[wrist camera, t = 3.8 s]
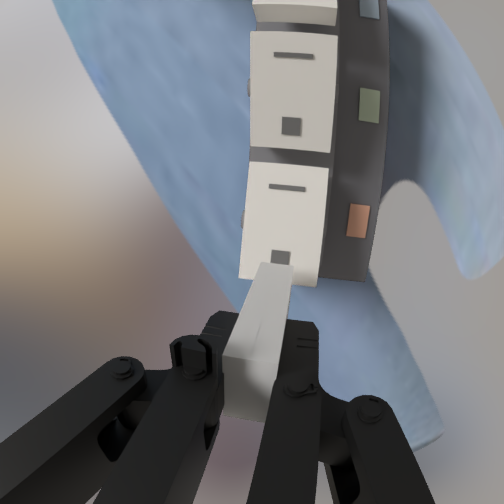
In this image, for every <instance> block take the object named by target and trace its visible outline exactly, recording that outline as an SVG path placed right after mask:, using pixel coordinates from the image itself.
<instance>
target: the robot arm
mask: <svg viewBox="0 0 504 504" xmlns="http://www.w3.org/2000/svg"><path fill="white" fill-rule="evenodd" d="M293 270H294V266H292V265H284V264H275V263H267V262H261V263H260V266H259V268H258V271H257V273H256V275H255V278H254V280H253V283H252V285H251V287H250V290H249V292H248V295H247V297H246V300H245V302H244V304H243V307H242V309H241V312H240V314H239V313H232V312H226V311H218V312H217V313H215V314H214V315H212V316H211V317H210V318H209V320H208V322H207V323H206V326H205V327H204V329H203V331H202V334H200V335H187V336H182V337H179V338H177V339H175V340H174V341H173V342H172V343H171V344H170V352H171V359H172V366H173V367H172V368H171V369H168V370H144V367H143V365H142V363H141V362H140V361H139V360H137V359H135V358H132V357H124V356H123V357H122V356H121V357H117V358H113V359H112V360H110V361H108V362H106V363H105V364H104V365H102V366H101V367H100V368H98V369H97V370H96V371H95V372H93V373H92V374H91V375H89V376H88V377H87V378H86V379H84V380H83V381H82V382H80V383H79V384H78V385H76V386H75V387H74V388H72V389H71V390H70V391H68V392H67V393H66V394H64V395H63V396H62V397H61V398H59V399H58V400H57V401H55V402H54V403H53V404H51V405H50V406H49V407H47V408H46V409H45V410H43V411H42V412H41V413H40V414H38V415H37V416H36V417H34V418H33V419H32V420H30V421H29V422H28V423H27V424H25V425H24V426H22V427H21V428H20V429H19V430H17V431H16V432H15V433H13V434H12V435H11V436H9V437H8V438H7V439H5V440H4V441H3V442H2V443H0V504H85V503H86V502H87V501H88V500H89V499H90V498H91V497H92V496H93V495H94V494H95V493H96V492H98V490H100V489H101V490H100V492H99V494H98V496H97V497H96V499H95V501H94V502H93V504H193V501H194V498H195V495H196V492H197V490H198V487H199V484H200V482H201V479H202V476H203V473H204V470H205V468H206V465H207V462H208V459H209V456H210V453H211V450H212V448H213V445H214V442H215V439H216V436H217V434H218V430H219V424H220V421H219V418H220V415H221V412H222V409H223V415H224V416H229V417H235V418H240V419H245V420H251V421H257V422H264V423H265V426H264V430H263V435H262V440H261V444H260V449H259V453H258V457H257V462H256V466H255V470H254V474H253V479H252V483H251V487H250V491H249V495H248V499H247V503H246V504H315V496H316V485H317V473H318V461H320V462H323V463H324V466H325V470H326V475H327V479H328V483H329V487H330V491H331V495H332V499H333V504H435V502H434V500H433V497H432V495H431V493H430V490H429V488H428V485H427V483H426V481H425V479H424V476H423V474H422V472H421V470H420V467H419V465H418V463H417V461H416V459H415V456H414V454H413V452H412V450H411V448H410V446H409V443H408V441H407V439H406V437H405V435H404V433H403V431H402V429H401V427H400V425H399V422H398V420H397V418H396V416H395V414H394V412H393V410H392V408H391V407H390V406H389V404H388V403H387V402H386V401H384V400H383V399H381V398H379V397H376V396H372V395H362V396H358V397H355V398H354V399H352V400H351V401H350V402H347V401H344V400H340V399H337V398H335V397H333V396H331V395H329V394H328V393H326V392H325V391H324V390H323V388H322V387H321V385H320V383H319V379H318V368H319V350H318V349H319V342H318V341H319V331H318V329H317V327H316V326H315V324H314V323H313V322H307V321H298V320H290V319H287V318H288V311H289V303H290V295H291V287H292V278H293Z"/></svg>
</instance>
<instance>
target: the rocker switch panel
mask: <svg viewBox="0 0 504 504" xmlns="http://www.w3.org/2000/svg"><path fill="white" fill-rule="evenodd" d="M256 31H283V32H303V33H316V34H326V35H335V36H338V43H337V68H336V84H339V96H338V103H334V115H333V127H332V138H331V149H330V153H326V152H317V151H308V150H297V149H286V148H272V147H256V146H250V156H249V163H250V161H252V162H267V163H280V164H291V165H302V166H312V167H321V168H329V172H328V185H327V197H326V208H325V218H327V232H326V237H325V238H324V237H322V246H321V255H320V263H319V271H318V277H323V278H332V279H341V280H350V281H359V282H365V279H366V275H367V270H368V265H369V260H370V255H371V250H372V245H373V239H374V234H375V227H376V222H377V216H378V209H379V202H380V195H381V188H382V180H383V172H384V162H385V152H386V141H387V128H388V110H389V78H390V58H389V27H388V11H387V0H337V16H336V24H335V26H330V25H320V24H308V23H291V22H257V26H256Z"/></svg>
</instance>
